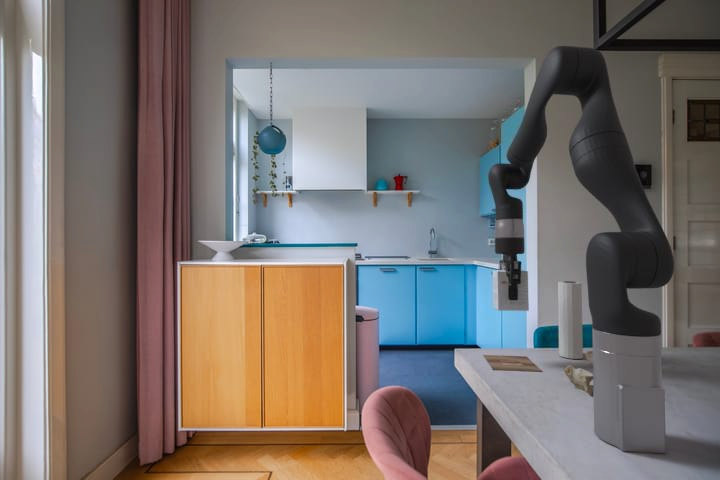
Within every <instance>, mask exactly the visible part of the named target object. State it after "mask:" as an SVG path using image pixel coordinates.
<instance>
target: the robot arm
mask: <svg viewBox="0 0 720 480" xmlns="http://www.w3.org/2000/svg"><path fill="white" fill-rule="evenodd" d="M609 76H610V75H609V71H608V66H607V63H606V59H605V57H604V54H602V52H601V51H600V50H598V49H597V48H593V47H584V46H572V45H571V46H569V45H558V46H555V47H553V48H552V49H551V50H549V52H548V53H547V54H546V55H545V58H544V59H543V61H542V63H541V65H540V68H539V70H538V73H537V75H536V79H535V80H534V85H533V87H532V91H531V93H530V96H529V98H528V102H527V106H526V108H525V111H524V115H523V118H522V121H521V123H520V125H519V127H518V129H517V132H516V134H515V135H514V137H513V140H512V141H511V143H510V145H509V147H508V148H507V151H506V159H507V161H508V162H509V163H502V162H500V163H495V164H493V165H492V166H491V167H490V169H489V170H488V171H489V172H488V177H487V179H488V185H489V188H490V190H491V193H492V198H493V201H494V205H495V225H494V253H495V254H496V255H502V260H501V259H500V260H499V270H505V271H506V277H508V298H509V300H518V286H519V284H520V283H521V270H522V261H520V260H518V255H523V254H524V253H525V249H526V248H525V224H524V203H523V200H522V199H521V198H518V197H515V196H512V195H510V194H509V193H508V191H507V190H514V191H515V190H517V191H518V190H522V189H523V188H525V187H526V186H527V185H528V183H529V182H530V179H531V174H532V169H533V165H534V163H535V160H536V158H537V157H538V155H539V153H540V152H541V150H542V149H543V147H544V145H545V143H546V140H547V137H548V124H547V120H546V119H547V118H546V107H547V105H548V102H549V101H550V99H551V97H553V96H554V95H558V96H559V95H560V96H561V95H562V96H574V97H576V98H577V99H578V101H579V104H580V106H581V112H582V113H581V117H580V119H579V120H578V122H577V124H576V126H575V128H574V129H573V131H572V133H571V136H570V139H569V141H568V152H569V157H570V160H571V164H572V168H573V171H574V174H575V177H576V179H577V180H578V182H579V183H580V184H581V186H582V187H583V188H584V189H585V190H587V191H588V193H589V194H590V195H592V196H593V197H594V198H595V199H596V200H597V201H598V202H599V203H600V204H602V205H603V206H604V208H606V209H607V210H608V211H609V213H610V214H611V215H612V217H613V218H614V220H615V222H616V223H617V225H618V228H619V230H620V231H604V232H599V233H596V234H594V235H593V236H592V238H591V239H590V240H589V242H588V244H587V248H586V254H585V268H586V269H585V271H586V273H585V274H586V282H587V296H588V297H587V299H588V306H589V307H588V308H589V312H590V315H591V322H592V323H591V325H592V350H593V365H592V374H593V380H592V381H593V383H592V385H593V393H592V394H593V396H592V397H593V428H594V429H593V430H594V434H595V436H596V437H598V438H599V439H600V440H602V441H603V442H606V443H607V444H610V445H612V446H615V447H617V448H619V449H620V450H621V451H623V452H636V453H637V452H638V453H639V452H640V453H657V454H667V437H666V436H667V435H666V431H667V430H666V398H665V397H666V394H665V393H666V392H665V389H664V388H663V373H662V369H663V368H662V365H663V364H662V361H663V360H662V322H661V319H660V317H659V316H658V315H657V314H655V313H653V312H651V311H648V310H644V309H641V308H639V307H638V306H636V305H634V304H633V303H632V302H631V301H630V299H629V295H628V289H633V290H634V289H635V290H636V289H640V290H641V289H657V288H658V289H659V288H663V287H664V286H666V285H668V283H669V282H670V281H671V280H672V278H673V275H674V270H675V261H674V255H673V250H672V247H671V244H670V242H669V240H668V237H667V235H666V233H665V231H664V229H663V227H662V225H661V222H660V221H659V219H658V216H657V215H656V213H655V211H654V208H653V207H652V204H651V202H650V201H649V199H648V196H647V194H646V192H645V189H644V186H643V184H642V181H641V179H640V176H639V174H638V171H637V168H636V165H635V161H634V157H633V154H632V151H631V147H630V145H629V142H628V139H627V136H626V133H625V131H624V129H623V127H622V124H621V122H620V121H621V120H620V119H619V114H618V111H617V108H616V104H615V101H614V97H613V93H612V87H611V83H610V82H611V81H610V77H609ZM508 271H510V274H509V273H508ZM513 277H515V279H513Z"/></svg>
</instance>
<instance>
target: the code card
mask: <svg viewBox="0 0 720 480" xmlns="http://www.w3.org/2000/svg"><path fill="white" fill-rule="evenodd" d="M482 356H483V358H484V359H485V360H486V362H487V363H488V365H489V366H490V367H491V369H492V370H493V371H513V372H514V371H515V372H538V373H539V372H541V373H542V372H543V370H542V369H541V368H540V367H539V366H538V365H537V364H535V363H534V361H533V360H531V359H530V358H529V357H528V356H527V355H525V356H524V355H522V356H521V355H499V354H498V355H496V354H495V355H494V354H493V355H492V354H482Z"/></svg>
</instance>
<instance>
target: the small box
mask: <svg viewBox="0 0 720 480" xmlns="http://www.w3.org/2000/svg"><path fill="white" fill-rule="evenodd" d="M508 273H509V274H510V271H508ZM513 279H515V277H513ZM492 303H493V305H492V306H493V309H495V310H497V311H498V312H499V311H500V312H501V311H505V312H506V311H508V312H509V311H512V312H515V311H516V312H517V311H519V312H524V311H525V312H526V311H527V312H529V309H530V308H529V307H530V306H529V305H530V304H529V271H527V270H523V269H521V283H520V284H519V286H518V300H509V298H508V277H506V271H505V270H500V269H496V270H492Z"/></svg>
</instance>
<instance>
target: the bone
mask: <svg viewBox="0 0 720 480" xmlns="http://www.w3.org/2000/svg"><path fill="white" fill-rule="evenodd" d="M584 354H585V355H584V356H585V357H586V360H587V362H589V364H592V366H593V349H588V350H587V351H586V352H585V353H584ZM564 373H565V375H566V377H567V378H568V380H569V381H570V383H571V384H573V385H574V386H573V388H574V389H577V390H581V391H584V392H586V393H587V394H588V395H589V396H591V395H592V394H593V384H590V383H591V382H592V381H593V373H591V372H590V371H588V370H586V369H584V368H581V367H579V368H575V367H574V366H573V365H572V364H570V365H567V366H566V368H565V369H564Z"/></svg>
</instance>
